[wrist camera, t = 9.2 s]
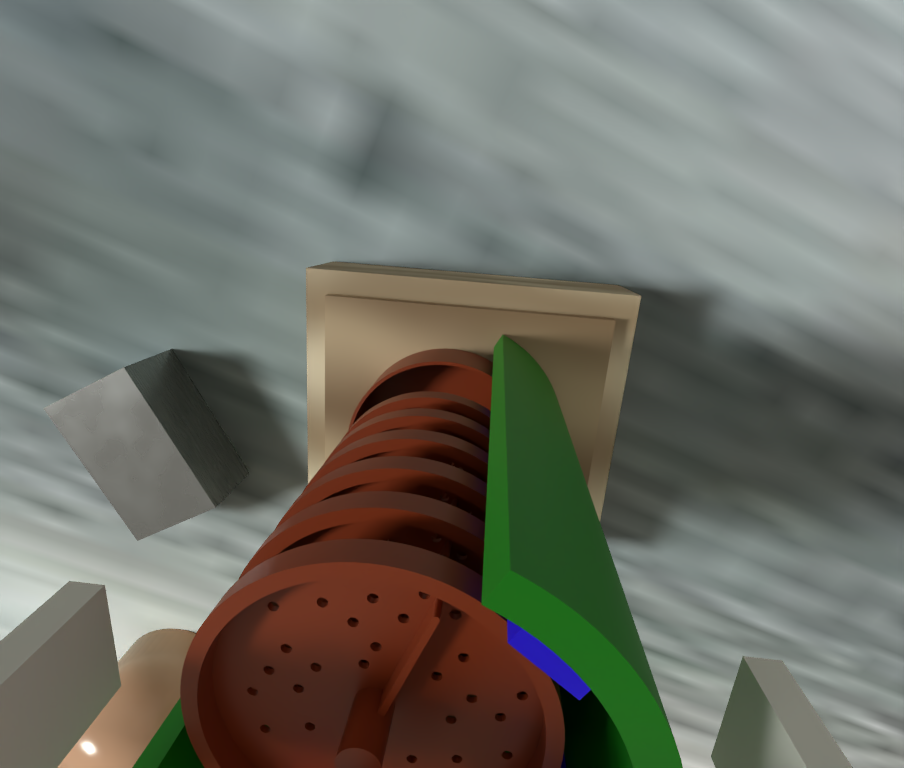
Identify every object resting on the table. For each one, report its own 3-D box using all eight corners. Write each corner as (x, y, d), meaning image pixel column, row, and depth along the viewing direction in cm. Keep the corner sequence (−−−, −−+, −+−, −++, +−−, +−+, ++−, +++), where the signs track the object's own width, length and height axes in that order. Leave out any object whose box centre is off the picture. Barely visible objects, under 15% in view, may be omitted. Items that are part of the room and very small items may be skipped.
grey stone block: (102, 384, 29) (43, 408, 25) (174, 348, 28) (123, 367, 24) (181, 501, 31) (137, 540, 27) (251, 471, 30) (215, 507, 26)
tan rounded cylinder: (119, 621, 34) (27, 720, 27) (239, 635, 33) (176, 739, 27) (133, 715, 36) (51, 826, 29) (245, 729, 36) (188, 846, 29)
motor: (440, 287, 21) (-32, 864, 2) (611, 411, 22) (1346, 1569, 3) (314, 466, 24) (-372, 1404, 5) (470, 569, 25) (402, 1679, 6)
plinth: (333, 261, 26) (301, 269, 21) (618, 285, 25) (645, 297, 21) (332, 509, 30) (304, 558, 26) (576, 535, 29) (591, 590, 25)
